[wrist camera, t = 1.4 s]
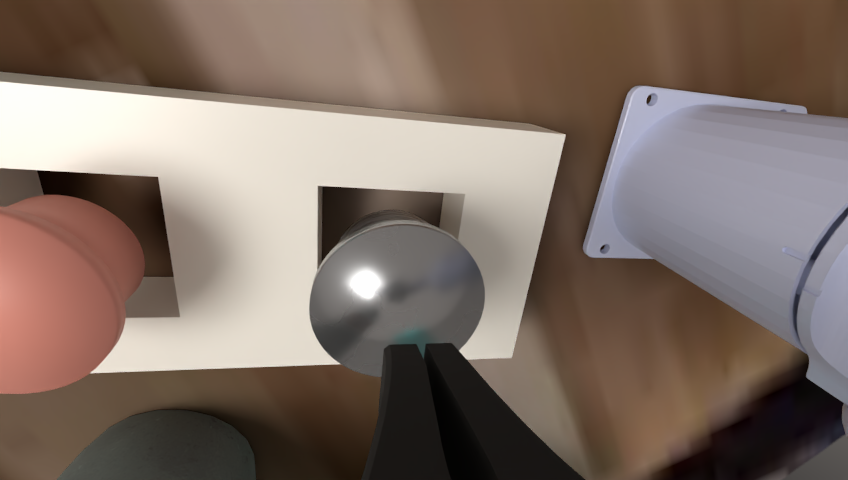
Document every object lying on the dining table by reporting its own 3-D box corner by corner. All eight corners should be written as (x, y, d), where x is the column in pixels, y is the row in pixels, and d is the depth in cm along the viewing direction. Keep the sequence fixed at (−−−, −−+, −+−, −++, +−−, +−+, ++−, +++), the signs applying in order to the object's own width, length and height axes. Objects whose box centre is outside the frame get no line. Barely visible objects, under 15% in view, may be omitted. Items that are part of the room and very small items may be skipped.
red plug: (152, 180, 12) (92, 215, 9) (175, 323, 14) (132, 389, 11) (-61, 168, 11) (-204, 204, 8) (-2, 326, 13) (-100, 399, 10)
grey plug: (468, 197, 14) (499, 229, 11) (448, 319, 16) (470, 374, 13) (316, 189, 13) (308, 222, 10) (316, 322, 15) (309, 380, 12)
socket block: (530, 123, 17) (565, 134, 14) (490, 319, 21) (511, 357, 18) (-122, 59, 12) (-256, 57, 9) (-17, 327, 16) (-91, 379, 13)
